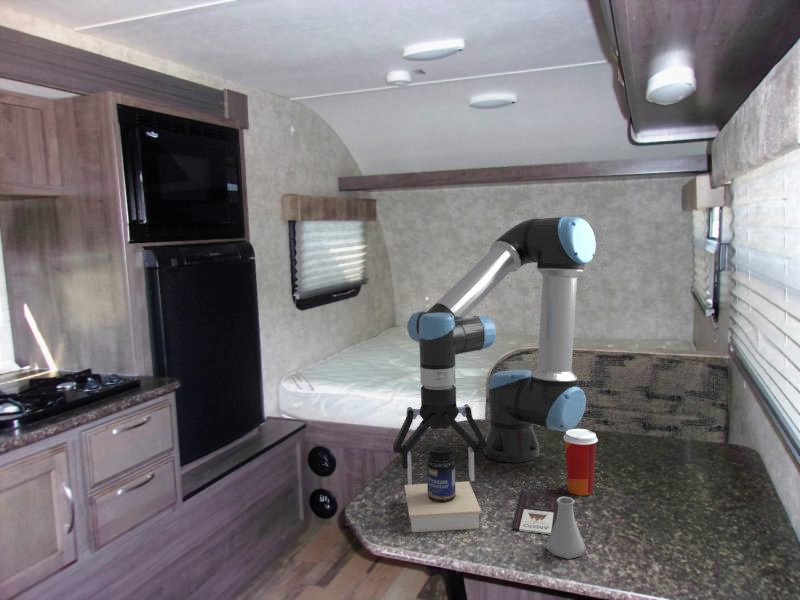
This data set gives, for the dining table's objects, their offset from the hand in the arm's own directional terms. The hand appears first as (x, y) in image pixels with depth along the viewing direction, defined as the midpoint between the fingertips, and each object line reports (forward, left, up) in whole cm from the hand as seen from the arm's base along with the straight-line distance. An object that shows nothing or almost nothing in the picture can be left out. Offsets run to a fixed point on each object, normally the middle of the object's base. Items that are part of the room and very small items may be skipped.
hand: (440, 480), depth 130 cm
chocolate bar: (-21, +2, -8) cm, 23 cm away
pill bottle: (0, 0, -4) cm, 4 cm away
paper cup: (-34, -8, -8) cm, 36 cm away
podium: (0, 0, -8) cm, 8 cm away
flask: (-22, +17, -8) cm, 29 cm away
